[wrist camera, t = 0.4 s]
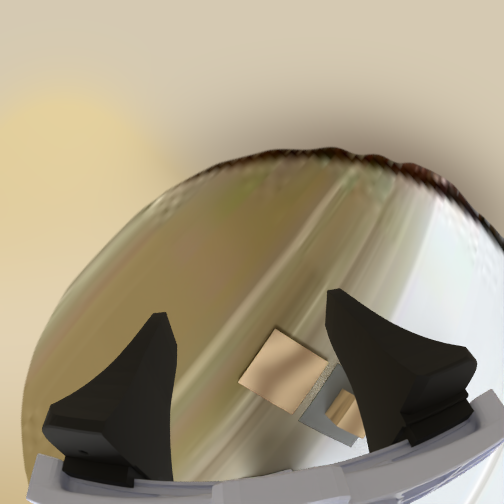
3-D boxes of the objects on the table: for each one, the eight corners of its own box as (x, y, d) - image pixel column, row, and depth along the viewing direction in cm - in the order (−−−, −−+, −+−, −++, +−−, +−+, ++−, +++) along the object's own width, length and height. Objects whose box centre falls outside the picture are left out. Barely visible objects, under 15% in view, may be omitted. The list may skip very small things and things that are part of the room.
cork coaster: (327, 361, 38) (328, 362, 38) (291, 413, 36) (292, 414, 36) (274, 328, 39) (275, 328, 39) (238, 381, 37) (238, 382, 37)
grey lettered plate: (387, 392, 37) (387, 393, 37) (350, 446, 35) (351, 447, 35) (337, 363, 38) (337, 363, 38) (298, 420, 36) (298, 420, 36)
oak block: (365, 401, 37) (382, 410, 31) (348, 426, 36) (362, 438, 30) (342, 388, 37) (356, 396, 31) (324, 414, 36) (336, 426, 30)
